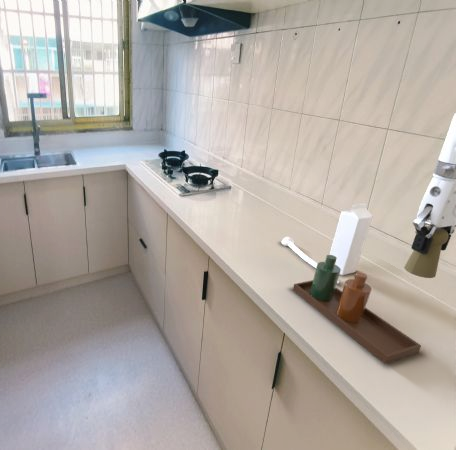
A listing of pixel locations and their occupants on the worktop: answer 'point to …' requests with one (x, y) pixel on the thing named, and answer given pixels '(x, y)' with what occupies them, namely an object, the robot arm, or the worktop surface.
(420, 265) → the cork
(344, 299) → the amber bottle
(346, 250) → the milk
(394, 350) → the tray
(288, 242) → the spatula
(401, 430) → the worktop surface
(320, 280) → the green bottle
